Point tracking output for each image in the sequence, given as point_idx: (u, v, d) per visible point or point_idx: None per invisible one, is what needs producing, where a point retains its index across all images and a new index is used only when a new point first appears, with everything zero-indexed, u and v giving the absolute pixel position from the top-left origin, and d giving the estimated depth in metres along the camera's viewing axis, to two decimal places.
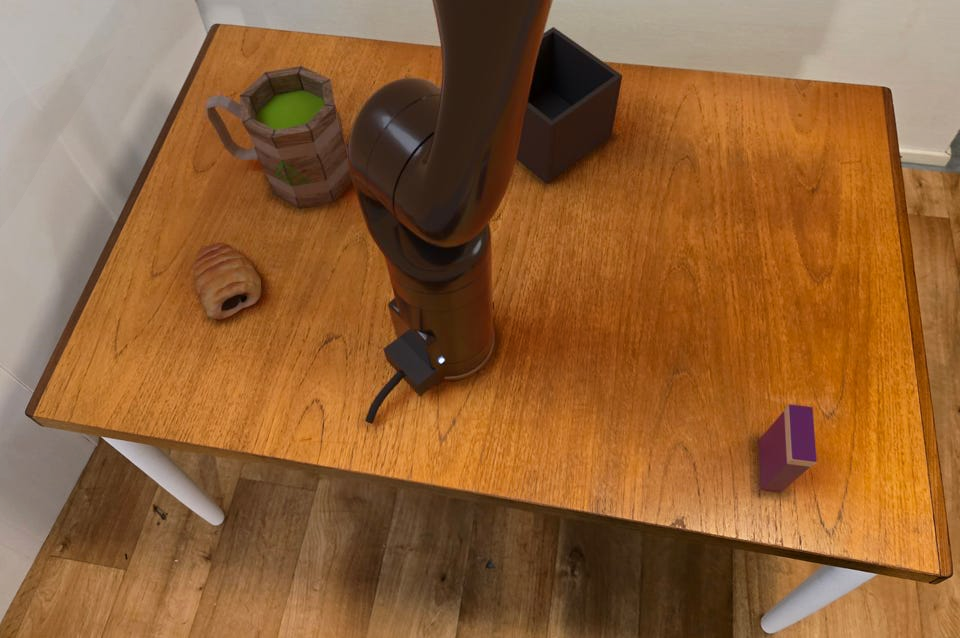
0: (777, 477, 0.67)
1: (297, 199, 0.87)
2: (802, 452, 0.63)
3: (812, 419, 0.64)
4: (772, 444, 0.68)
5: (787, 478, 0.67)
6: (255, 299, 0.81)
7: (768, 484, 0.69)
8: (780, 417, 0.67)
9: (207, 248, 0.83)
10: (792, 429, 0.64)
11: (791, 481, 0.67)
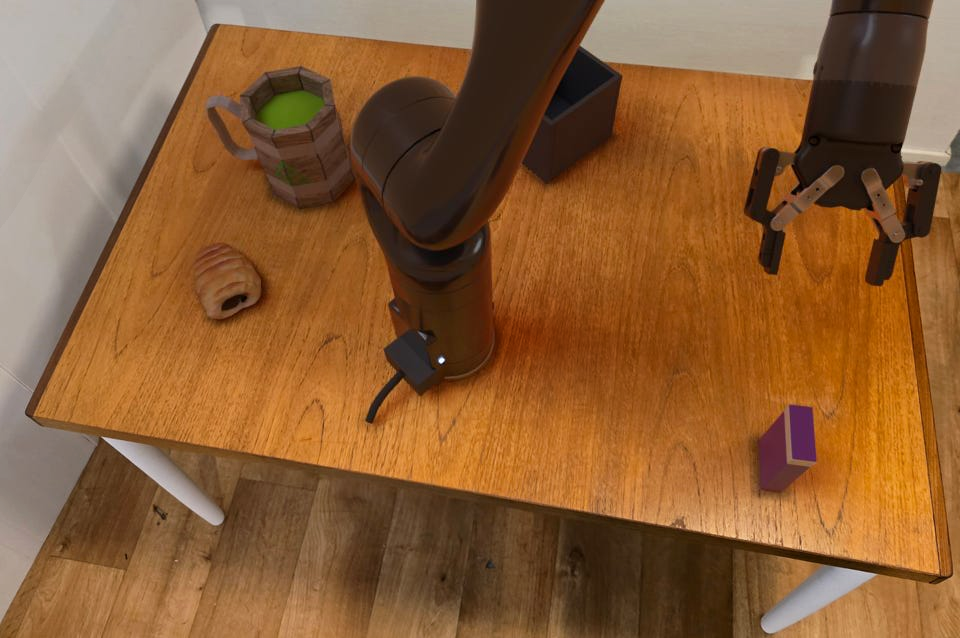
0: (777, 477, 0.67)
1: (297, 199, 0.87)
2: (802, 452, 0.63)
3: (812, 419, 0.64)
4: (772, 444, 0.68)
5: (787, 478, 0.67)
6: (255, 299, 0.81)
7: (768, 484, 0.69)
8: (780, 417, 0.67)
9: (207, 248, 0.83)
10: (792, 429, 0.64)
11: (791, 481, 0.67)
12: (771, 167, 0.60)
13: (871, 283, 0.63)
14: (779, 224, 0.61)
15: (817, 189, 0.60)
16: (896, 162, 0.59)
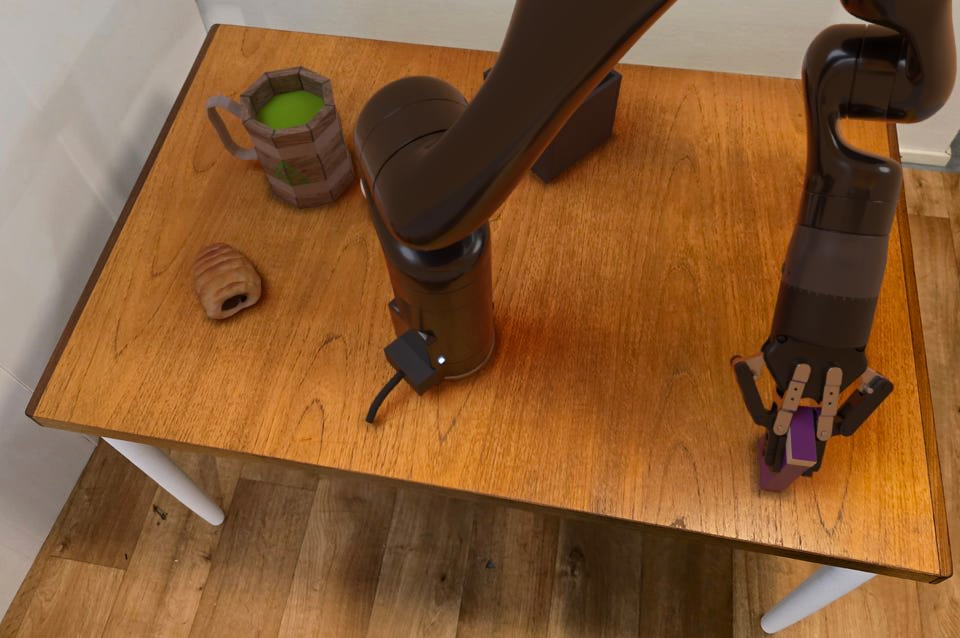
0: (777, 477, 0.67)
1: (297, 199, 0.87)
2: (802, 452, 0.63)
3: (811, 419, 0.64)
4: None
5: (787, 478, 0.67)
6: (255, 299, 0.81)
7: (768, 484, 0.69)
8: None
9: (207, 248, 0.83)
10: (792, 429, 0.64)
11: (791, 481, 0.67)
12: (748, 379, 0.63)
13: None
14: (782, 429, 0.64)
15: None
16: (863, 363, 0.62)
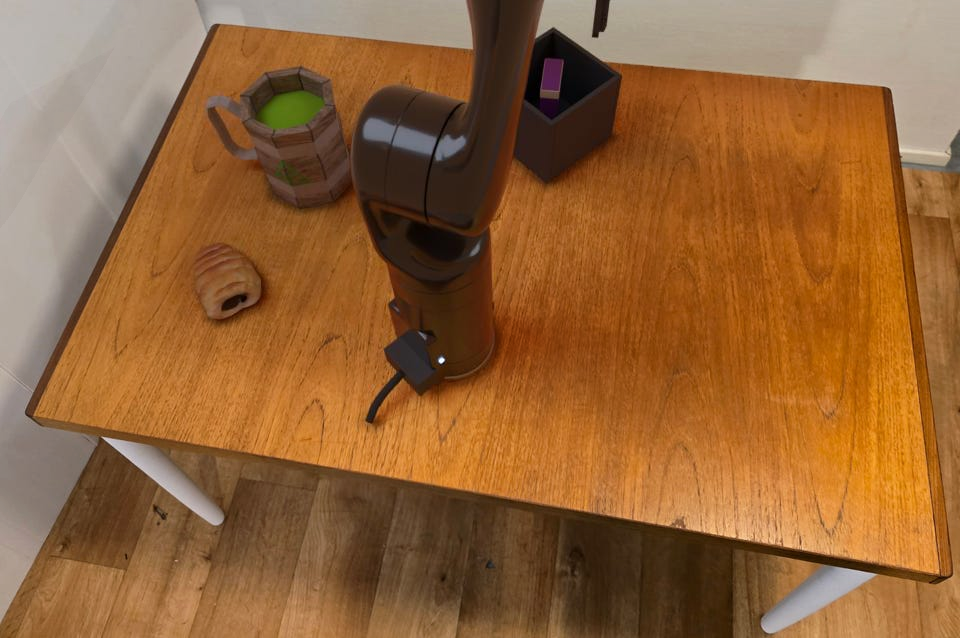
0: None
1: (297, 199, 0.87)
2: (549, 85, 0.84)
3: (560, 66, 0.85)
4: None
5: None
6: (255, 299, 0.81)
7: None
8: None
9: (207, 248, 0.83)
10: (544, 72, 0.85)
11: None
12: None
13: (592, 34, 0.77)
14: None
15: None
16: None
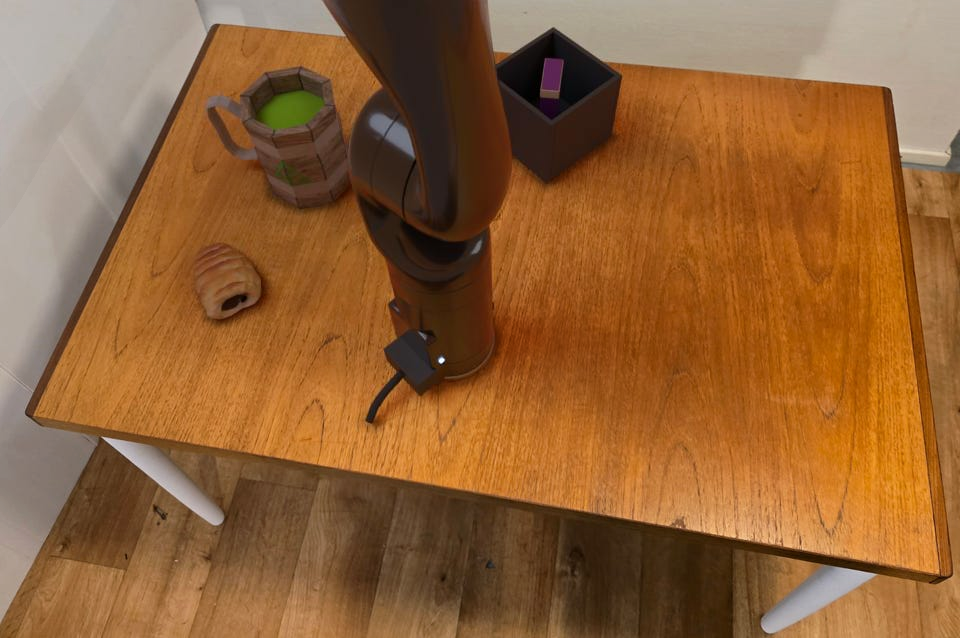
0: None
1: (297, 199, 0.87)
2: (549, 85, 0.84)
3: (560, 66, 0.85)
4: None
5: None
6: (255, 299, 0.81)
7: None
8: None
9: (207, 248, 0.83)
10: (544, 72, 0.85)
11: None
12: None
13: None
14: None
15: None
16: None
